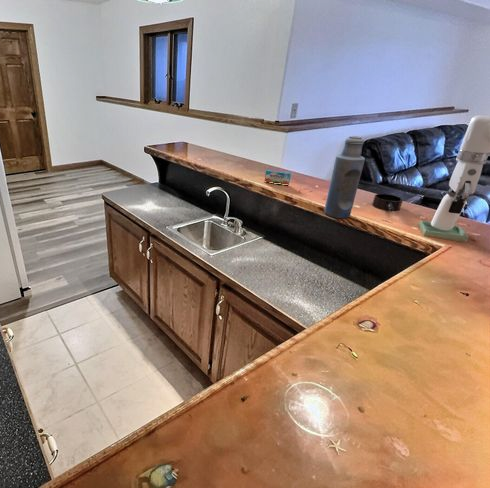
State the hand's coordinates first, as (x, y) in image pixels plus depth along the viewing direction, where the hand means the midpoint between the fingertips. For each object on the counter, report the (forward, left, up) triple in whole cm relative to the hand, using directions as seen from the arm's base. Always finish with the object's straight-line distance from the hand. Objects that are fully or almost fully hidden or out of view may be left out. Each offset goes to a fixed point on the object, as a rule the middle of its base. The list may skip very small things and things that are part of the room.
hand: (451, 208), depth 119 cm
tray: (0, 0, -9) cm, 9 cm away
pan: (+15, -19, -9) cm, 26 cm away
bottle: (+34, -4, -9) cm, 36 cm away
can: (+1, 0, -7) cm, 7 cm away
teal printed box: (+62, -36, -9) cm, 72 cm away
